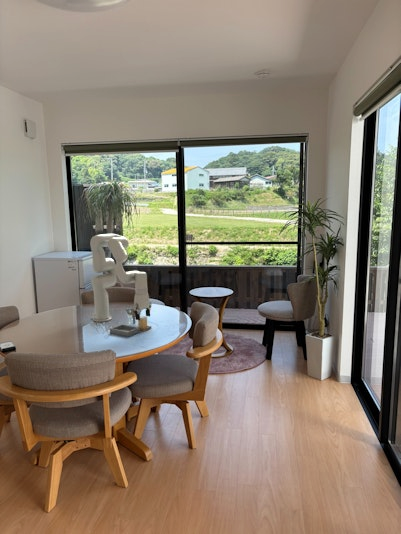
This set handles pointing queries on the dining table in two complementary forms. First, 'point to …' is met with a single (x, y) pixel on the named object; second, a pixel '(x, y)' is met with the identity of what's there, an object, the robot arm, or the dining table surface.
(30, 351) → the dining table surface
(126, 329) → the parts tray
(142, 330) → the brown flat square frame
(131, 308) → the mechanical component
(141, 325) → the block
